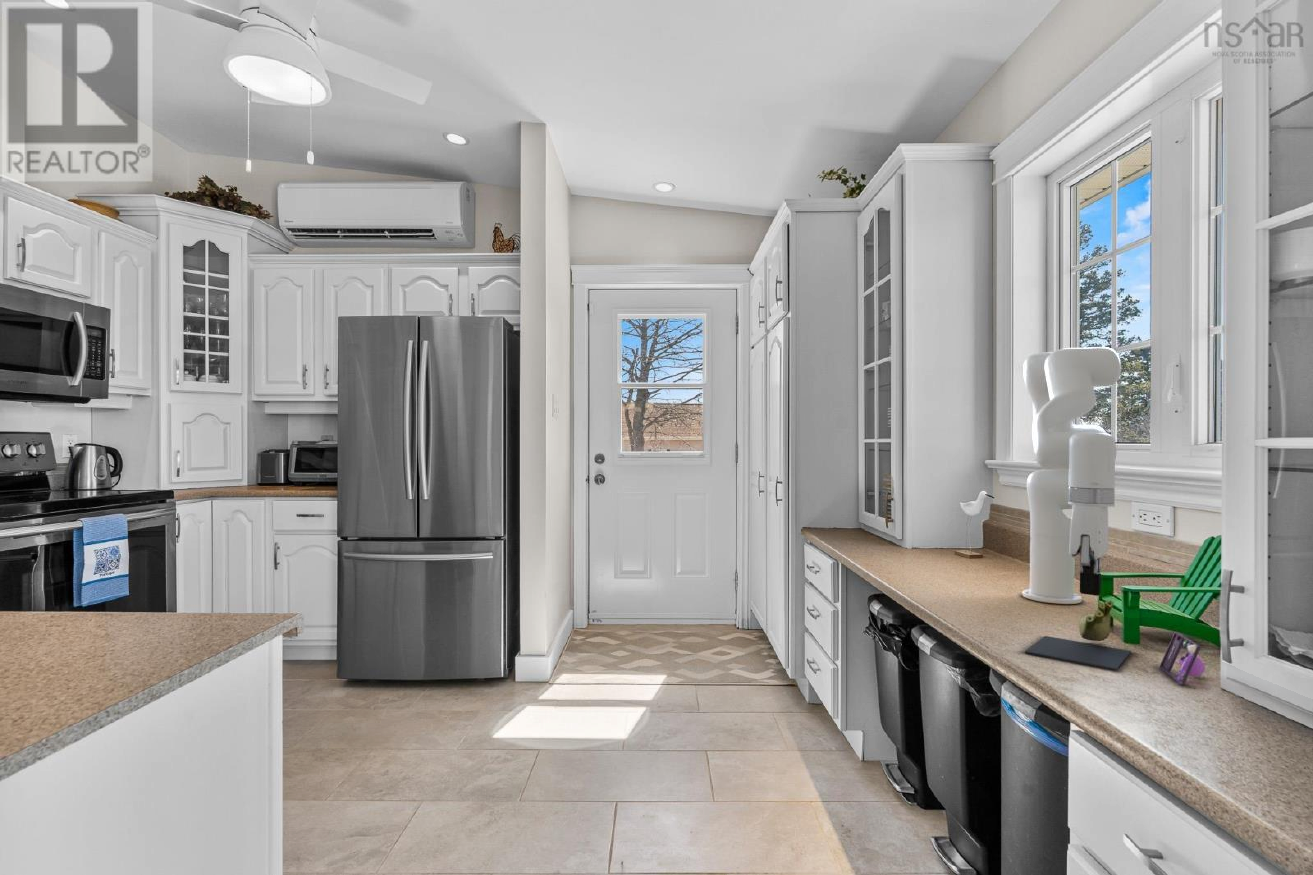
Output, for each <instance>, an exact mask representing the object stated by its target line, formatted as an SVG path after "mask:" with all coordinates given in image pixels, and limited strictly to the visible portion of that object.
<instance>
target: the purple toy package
mask: <svg viewBox="0 0 1313 875" xmlns="http://www.w3.org/2000/svg"><path fill="white" fill-rule="evenodd" d="M1182 647H1183V648H1184V649H1185V650H1187V651H1188V652H1187V653H1184V654H1182V655H1181V656H1180V657H1179V659H1178V660H1177V658H1178V655H1179V653H1180V651H1181V649H1182ZM1200 650H1201V645H1199V644H1197V643H1196V642H1194V641H1193V640H1191V639H1190V638H1188V637H1187V636H1185V635H1183V634H1181V633H1180V632H1179V631H1177V630H1176V631H1174V632H1173V635H1172V637H1171V639H1170V641H1169V643H1168V647H1167V649H1166V650H1165V653H1164V655H1163V657H1162V659H1161V660H1162V661H1161V662H1160V664H1159V669H1161V670H1162V671H1163V672H1164V673H1166V674H1167V675H1168V676H1169V677H1170V678H1172V679H1173V680H1174V681H1176V682H1177V683H1178V684H1179V685H1181V686H1184V685H1185V684H1186V681H1187V679H1188V677H1189V676H1190V677H1196V678H1197V677H1198V678H1199V679H1201V678H1203V675H1204V673H1205V671H1206V665H1205V662H1204V661H1203V660H1202V659H1201V657H1199V655H1198V654H1199V652H1200ZM1176 660H1177V662H1178V665H1179V667H1180V670H1179V673H1178V677H1177V676H1176V675H1175V674H1173V673H1172V670H1173V667H1174V665H1175V663H1176ZM1183 673H1184V675H1183Z"/></svg>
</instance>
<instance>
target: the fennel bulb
mask: <svg viewBox="0 0 1313 875" xmlns="http://www.w3.org/2000/svg"><path fill="white" fill-rule="evenodd" d="M1113 607H1114V601H1112V600H1105V601H1104V603H1101V604H1099V605H1098V607H1097V608H1098V609H1097V610H1096V611H1095V612H1094V613H1089V614H1086V615H1083V616H1082V617H1081V619H1080V620H1079V623H1078V631H1079V635H1080V637H1081V639H1084V640H1087V641H1090V642H1091V641H1093V642H1102V641H1105V640H1106V639H1108V638H1109V636H1110V635H1111V634H1110V633H1111V612H1112V609H1113Z"/></svg>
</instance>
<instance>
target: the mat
mask: <svg viewBox="0 0 1313 875" xmlns="http://www.w3.org/2000/svg"><path fill="white" fill-rule="evenodd" d="M1024 654H1026V655H1032V656H1037V657H1043V658H1048V659H1052V660H1058V661H1063V662H1068V663H1073V664H1077V665H1085V666H1089V667H1094V668H1098V669H1103V670H1109V671H1113V672H1114V671H1115V672H1117V671H1118V670H1119V669H1120V667H1121V666H1122V665H1123V664H1124V662H1125V661H1126V660H1127V659H1128V657H1129V656H1130V655H1131V654H1132V650H1127V649H1122V648H1117V647H1111V646H1106V645H1100V644H1093V643H1089V642H1082V641H1077V640H1071V639H1066V638H1059V637H1054V636H1048V635H1044V636H1042V637H1041V638H1040V639H1039V640H1038V641H1036V642H1035V643H1034V644H1032V645H1031V646H1030V647H1029V648H1027V649H1026V650H1025V651H1024Z"/></svg>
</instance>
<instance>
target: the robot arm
mask: <svg viewBox="0 0 1313 875" xmlns="http://www.w3.org/2000/svg"><path fill="white" fill-rule="evenodd" d="M1022 368H1023V369H1022V371H1023V372H1022V374H1023V375H1022V376H1023V381H1024V385H1025V389H1026V392H1027V394H1028V396H1029V399H1030V401H1031V405H1032V417H1033V418H1032V425H1031V439H1032V440H1031V441H1032V448H1033V454H1034V458H1035V461H1036V463H1037V464H1038V465H1039V466H1040V467H1041V468H1044V469H1037V470H1035V471H1033V472H1031V473H1030V474H1029V475H1028V477H1027V480H1026V493H1027V498H1028V500H1027V501H1028V506H1029V507H1028V508H1029V524H1030V525H1029V529H1030V530H1029V588H1028V589H1024V590H1022V597H1024V598H1025V599H1029V600H1030V601H1031V600H1032V601H1035V602H1036V601H1037V602H1040V603H1048V604H1057V605H1076V604H1080V603H1082V601H1083V599H1082V598H1083V597H1082V596H1081V595H1087V596H1096V597H1098V596H1099V595H1101V594H1102V573H1101V572H1102V571H1101V570H1102V568H1101V567H1102V557H1104V556H1105V555H1107V553H1108V549H1109V547H1108V546H1109V508H1111V507H1113V508H1114V507H1116V506H1115V504H1116V503H1115V501H1116V500H1115V499H1116V498H1115V494H1116V458H1117V445H1116V439H1115V437H1114V436H1113V435H1112V434H1110V433H1107V431H1106V430H1105V429H1104V428H1103V427H1101V426H1099V425H1095V424H1075V423H1074V420H1075V419H1078V418H1081V417H1083V416H1085V415H1087V414H1088V413H1090V412H1091V411H1092V410H1093V409H1094V407H1095V406H1096V403H1097V396H1096V392H1095V388H1098V387H1111V386H1113V385H1115V384H1116V383H1117V382H1118V381H1119V379H1120V376H1121V372H1122V364H1121V359H1120V356H1119V355H1118V353H1117V352H1116V351H1115V350H1114V349H1113V348H1112V347H1111V348H1110V347H1107V346H1099V347H1098V346H1095V347H1093V346H1092V347H1066V348H1059V349H1057V350H1054V351H1044V352H1038V353H1034V354H1031V355H1029V356H1028V357H1027V358H1025V360H1024V362H1023V366H1022ZM1063 510H1071V516H1070V519H1069V517H1068V516H1067V515H1066V514H1065V513H1064V511H1063ZM1077 556H1079V571H1080V572H1079V593H1080V594H1081V595H1079V594H1077V593H1075V574H1076V573H1075V572H1076V571H1075V567H1076V566H1075V565H1076V564H1075V562H1076V558H1075V557H1077Z"/></svg>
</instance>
